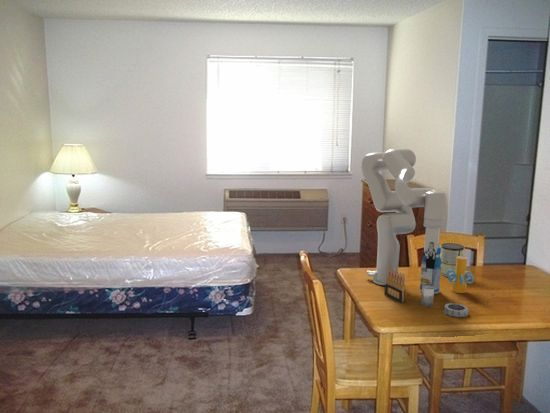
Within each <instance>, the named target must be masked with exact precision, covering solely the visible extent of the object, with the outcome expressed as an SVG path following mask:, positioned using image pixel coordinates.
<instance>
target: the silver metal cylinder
mask: <svg viewBox="0 0 550 413" xmlns="http://www.w3.org/2000/svg"><path fill="white" fill-rule="evenodd" d="M434 287H435V286H434V285H432V284H422V291H421V299H420V301H421V302H420V303H421V304H420V305H421V306H424V307H427V308H428V307H429V308H431V307H433V306H434V297H435V296H434Z"/></svg>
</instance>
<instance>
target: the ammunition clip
mask: <svg viewBox="0 0 550 413" xmlns="http://www.w3.org/2000/svg"><path fill="white" fill-rule="evenodd" d="M405 278H406V277H405V274H404V273H402V272H399V270H398V271H397V274H396V271H395V270H394V273H393V269H392V270H391V272H390V268H389V269H388V274H387V283H386V286H385V287H384V288H385V289H384V295H385V296H386V295H387V296H386V297H389V298H390V299H392V300H394V301H397V302H398V303H400V304H404V303H406V290H405V287H406V285H405V281H406V280H405Z"/></svg>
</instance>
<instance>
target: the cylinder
mask: <svg viewBox="0 0 550 413" xmlns="http://www.w3.org/2000/svg"><path fill="white" fill-rule="evenodd" d="M467 259H468V257H466V256H463V257H462V256H458V257H457V261H456V272H455V271H454V270H448V271H447V276H448V277H447V276H446V277H447V278H448V281H449V283H451V291H452V292H453V293H457V294H465V293H467V286H468V285H469V284H470V285H471V284H473V283H475V278H474V275H473V274H472V272H471V271H470V270H466V269H467ZM450 271H452V272H453V273H451V274H450V275H449V272H450ZM452 275H454V277H451V276H452ZM468 276H469V277H468ZM467 277H468V278H467ZM470 280H471V281H470Z"/></svg>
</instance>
